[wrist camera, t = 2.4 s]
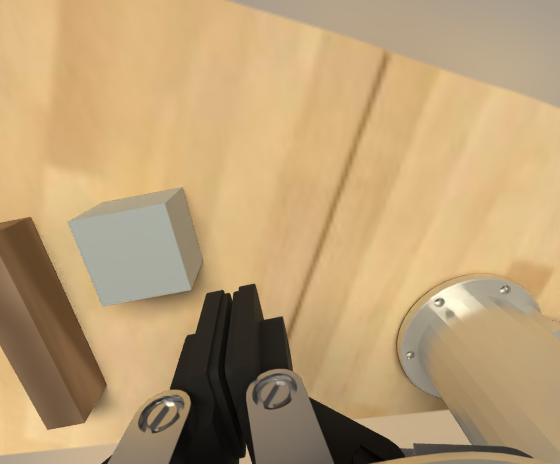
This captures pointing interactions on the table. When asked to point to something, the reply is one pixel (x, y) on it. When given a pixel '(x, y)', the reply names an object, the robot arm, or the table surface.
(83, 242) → the block
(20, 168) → the table surface
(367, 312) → the table surface
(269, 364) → the robot arm
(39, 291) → the brown wooden bar
